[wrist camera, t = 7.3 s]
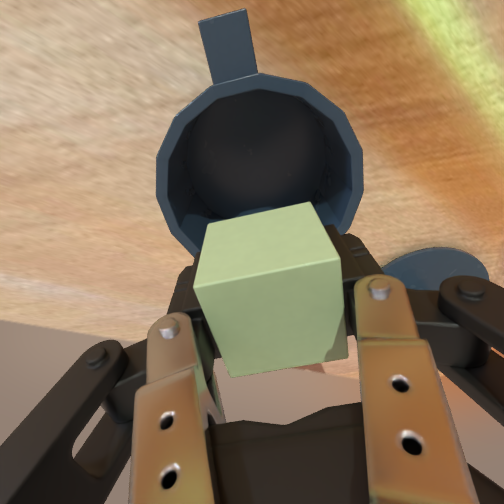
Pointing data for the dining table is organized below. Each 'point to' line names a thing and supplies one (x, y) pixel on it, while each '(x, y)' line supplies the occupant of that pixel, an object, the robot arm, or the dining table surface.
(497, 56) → the dining table surface
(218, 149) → the pot
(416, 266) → the lid
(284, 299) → the block
